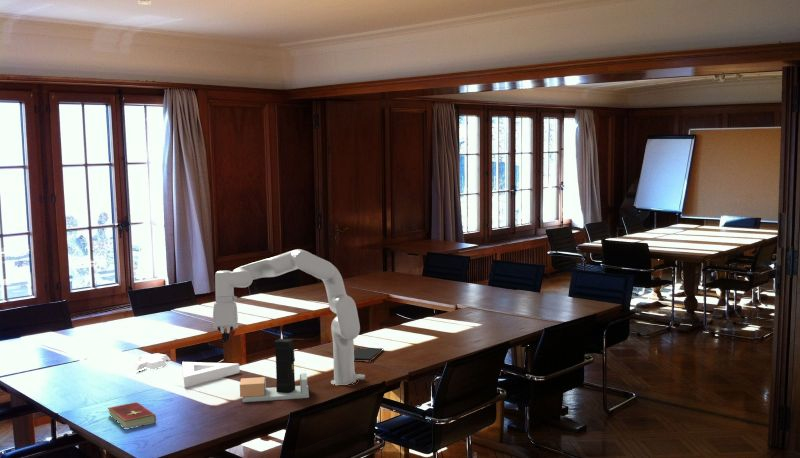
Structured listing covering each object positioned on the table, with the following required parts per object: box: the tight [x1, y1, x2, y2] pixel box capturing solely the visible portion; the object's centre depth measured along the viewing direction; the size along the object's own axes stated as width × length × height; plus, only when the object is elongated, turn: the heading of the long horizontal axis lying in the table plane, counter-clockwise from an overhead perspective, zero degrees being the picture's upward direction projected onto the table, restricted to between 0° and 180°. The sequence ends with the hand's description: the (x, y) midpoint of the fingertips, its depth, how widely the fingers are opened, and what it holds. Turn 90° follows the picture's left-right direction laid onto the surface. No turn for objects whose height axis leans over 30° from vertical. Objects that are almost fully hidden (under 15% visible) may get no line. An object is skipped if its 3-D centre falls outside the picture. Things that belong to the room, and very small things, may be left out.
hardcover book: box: [107, 401, 157, 428], centre depth 291 cm, size 12×21×4 cm, turn 38°
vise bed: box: [241, 372, 310, 403], centre depth 319 cm, size 28×14×8 cm, turn 99°
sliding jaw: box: [239, 376, 267, 398], centre depth 318 cm, size 11×10×5 cm
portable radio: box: [274, 334, 296, 393], centre depth 319 cm, size 8×6×25 cm
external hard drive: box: [354, 347, 384, 361], centre depth 382 cm, size 14×23×3 cm, turn 164°
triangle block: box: [181, 361, 240, 388], centre depth 350 cm, size 30×26×6 cm
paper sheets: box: [133, 353, 171, 370], centre depth 372 cm, size 35×20×6 cm, turn 11°
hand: (225, 341), depth 315 cm, fingers closed
